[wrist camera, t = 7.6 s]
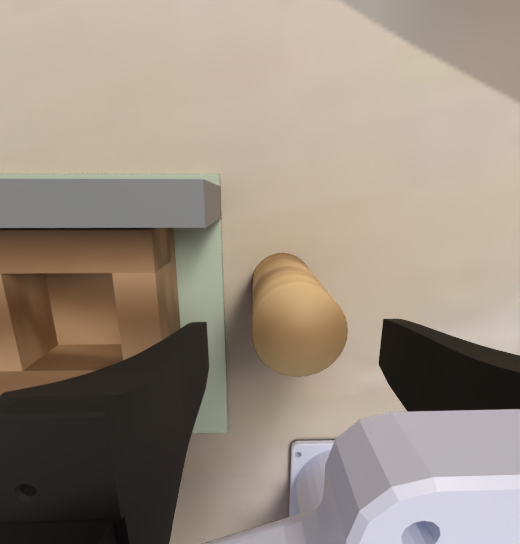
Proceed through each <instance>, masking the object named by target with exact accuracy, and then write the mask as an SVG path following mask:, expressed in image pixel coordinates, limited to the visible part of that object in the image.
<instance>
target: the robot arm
mask: <svg viewBox="0 0 520 544" xmlns="http://www.w3.org/2000/svg"><path fill="white" fill-rule="evenodd" d="M379 366H380V368H381V370H382V372H383V374H384V376H385V378H386V380H387V382H388V384H389V385H390V387H391V388H392V390H393V391H394V393H395V394H396V396H397V397H398V398H399V400H400V401H401V403H402V404H403V406H404V407H405V408H406V410H407V411H408V412H389V413H385V414H381V415H377V416H373V417H369V418H365V419H361V420H358V421H357V422H356V423H355V424H354V425H352V426H351V427H350V428H349V429H347V430H346V431H345V432H344V433H342V434H341V435H340V436H339V437H337V438H336V439H335V440H317V441H295V442H293V443H292V446H291V472H290V502H289V517H287V518H284V519H281V520H277V521H274V522H271V523H268V524H264V525H261V526H258V527H255V528H251V529H248V530H245V531H242V532H238V533H235V534H232V535H228V536H225V537H222V538H219V539H215V540H212V541H209V542H206V543H202V544H520V356H519V355H515V354H511V353H507V352H503V351H499V350H495V349H491V348H488V347H484V346H481V345H478V344H475V343H471V342H468V341H465V340H462V339H459V338H456V337H453V336H450V335H447V334H445V333H442V332H439V331H436V330H433V329H431V328H428V327H425V326H422V325H419V324H416V323H413V322H410V321H406V320H402V319H383V328H382V337H381V347H380V356H379ZM208 372H209V354H208V336H207V322H191V323H189V324H187V325H185V326H184V327H182V328H180V329H179V330H177V331H176V332H174V333H173V334H171V335H170V336H168V337H166V338H165V339H163V340H162V341H160V342H158V343H156V344H155V345H153V346H151V347H149V348H148V349H146V350H144V351H142V352H140V353H138V354H136V355H134V356H132V357H130V358H127V359H125V360H123V361H121V362H118V363H116V364H113V365H110V366H107V367H104V368H102V369H99V370H96V371H93V372H90V373H87V374H84V375H80V376H77V377H73V378H69V379H66V380H62V381H58V382H54V383H49V384H44V385H39V386H34V387H29V388H24V389H19V390H14V391H8V392H4V393H2V394H1V395H0V544H169V541H170V536H171V530H172V524H173V519H174V513H175V508H176V502H177V497H178V492H179V487H180V482H181V477H182V472H183V467H184V462H185V457H186V452H187V448H188V444H189V441H190V437H191V434H192V431H193V428H194V425H195V421H196V418H197V415H198V412H199V409H200V406H201V402H202V399H203V396H204V393H205V389H206V384H207V378H208ZM297 452H300V453H297Z"/></svg>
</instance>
